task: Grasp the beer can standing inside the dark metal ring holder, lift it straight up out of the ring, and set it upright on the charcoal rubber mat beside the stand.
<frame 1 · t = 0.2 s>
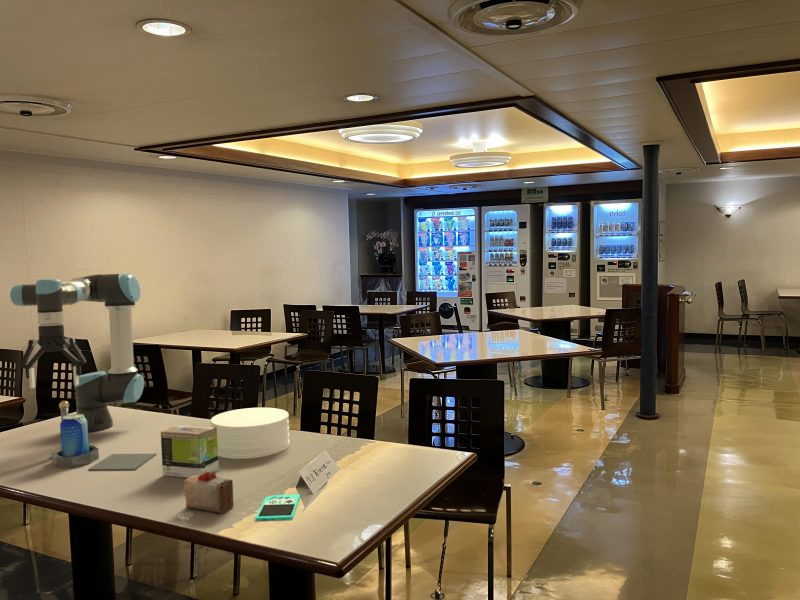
hand: (54, 386, 210), 27 cm above the table, fingers open, 13 cm apart
food item: (209, 507, 172), on the table
beer can: (76, 461, 215), resting in ring stand
ring stand: (75, 461, 215), on the table
tea box: (191, 473, 200), on the table
handheld game console: (279, 510, 170), on the table
plate stack: (251, 447, 228), on the table
rubber mat: (123, 462, 212), on the table
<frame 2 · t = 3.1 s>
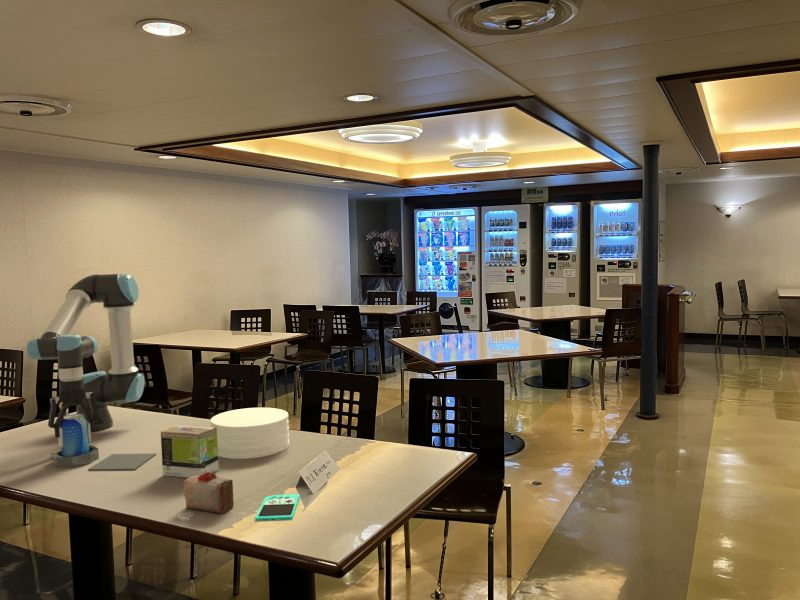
hand: (75, 443, 215), 6 cm above the table, fingers closed on beer can, 8 cm apart
beer can: (75, 461, 215), resting in ring stand, touching gripper
everything else where it was.
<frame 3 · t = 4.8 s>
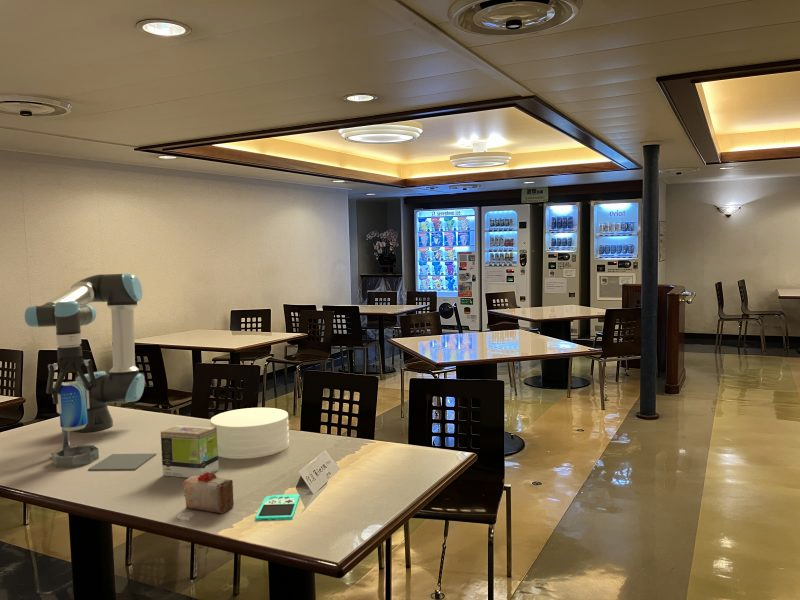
hand: (73, 410, 214), 18 cm above the table, fingers closed on beer can, 8 cm apart
beer can: (74, 428, 215), point 11 cm above the table, touching gripper
everything else where it was.
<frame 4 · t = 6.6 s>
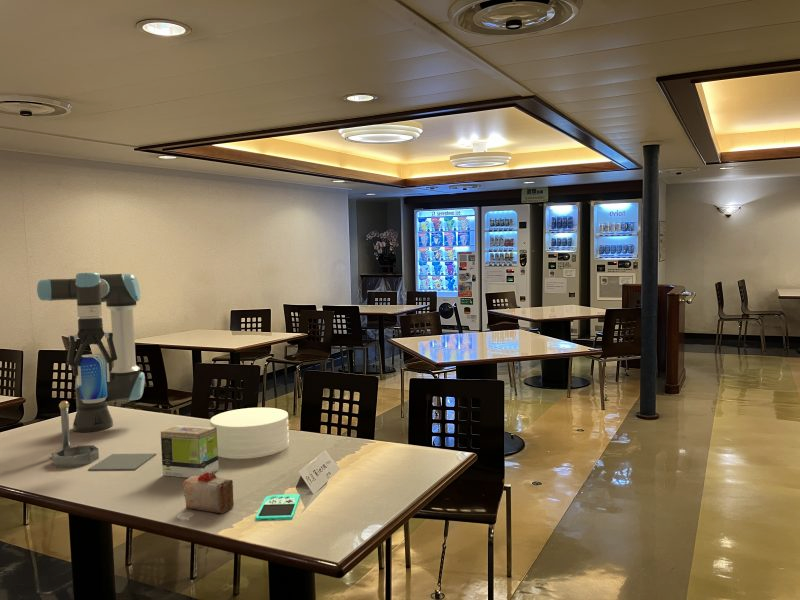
hand: (93, 383, 212), 28 cm above the table, fingers closed on beer can, 8 cm apart
beer can: (94, 401, 212), point 21 cm above the table, touching gripper
everything else where it was.
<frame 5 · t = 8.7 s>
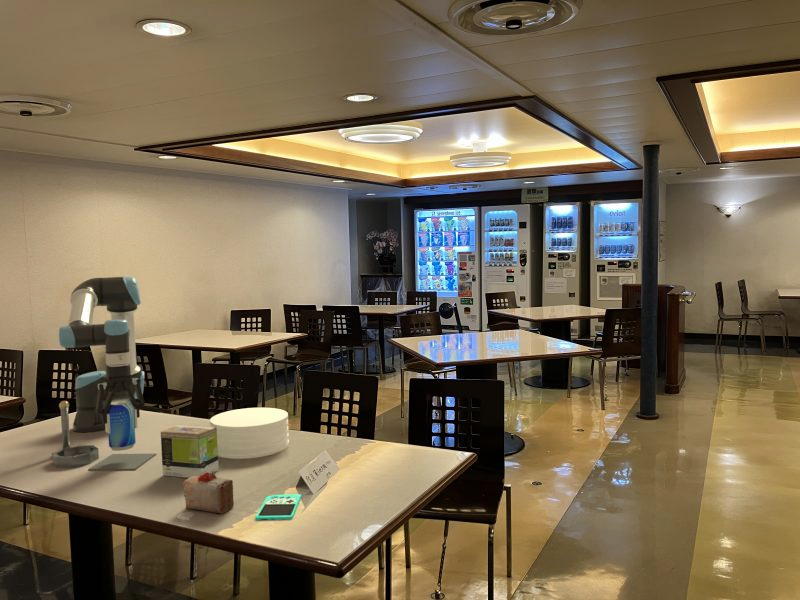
hand: (121, 429, 212), 11 cm above the table, fingers closed on beer can, 8 cm apart
beer can: (122, 448, 212), point 5 cm above the table, touching gripper
everything else where it was.
when the fingers open (7 cm above the table, at t = 10.2 s): beer can stays where it is, resting on rubber mat.
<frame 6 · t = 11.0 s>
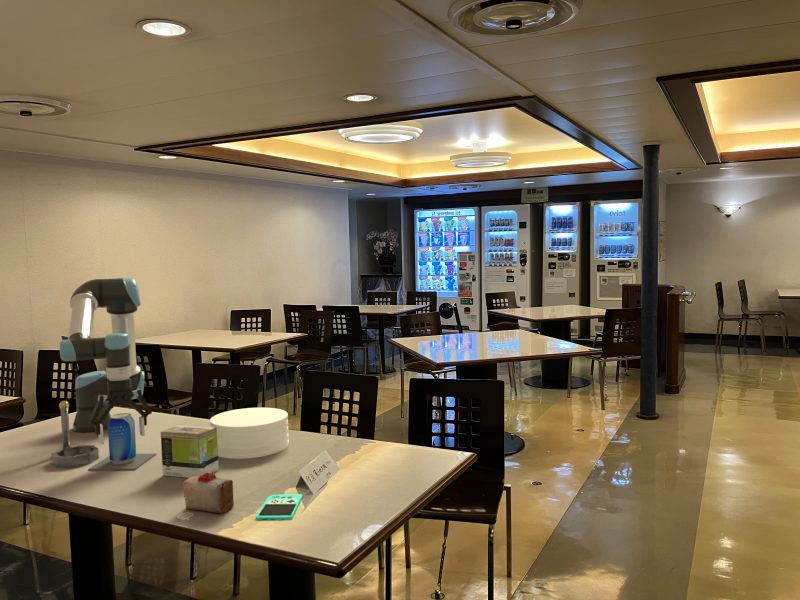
hand: (122, 439, 212), 8 cm above the table, fingers open, 13 cm apart
beer can: (123, 461, 212), resting on rubber mat
everything else where it was.
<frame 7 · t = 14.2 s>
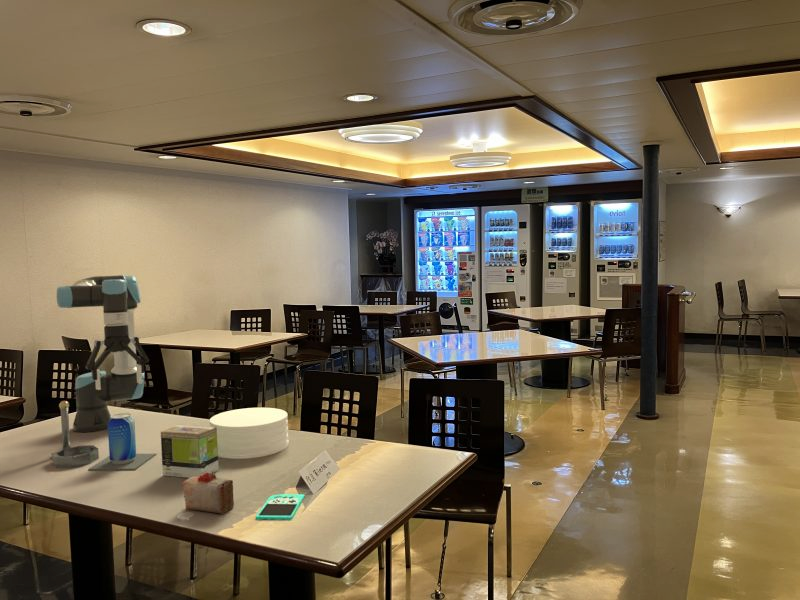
hand: (119, 386, 211), 27 cm above the table, fingers open, 13 cm apart
nothing on the table moved.
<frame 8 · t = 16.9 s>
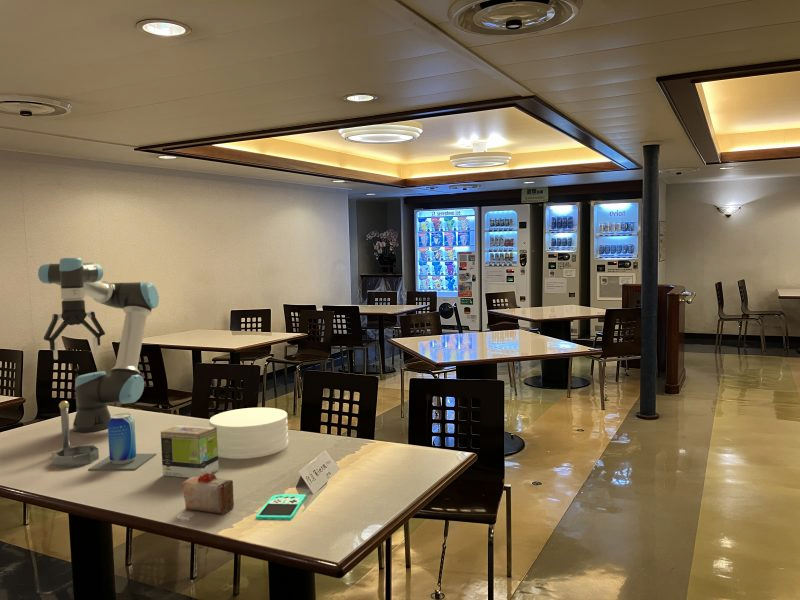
hand: (76, 356, 227), 35 cm above the table, fingers open, 13 cm apart
nothing on the table moved.
at the end: beer can inside the target area (0.1 cm from its centre), resting on rubber mat; beer can tilted 0°; the gripper is holding nothing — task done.
